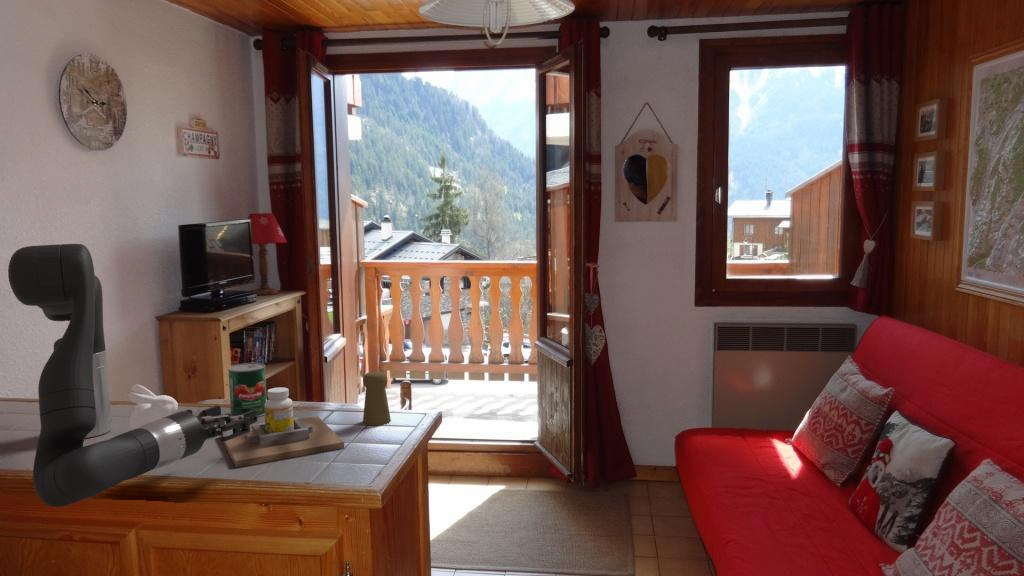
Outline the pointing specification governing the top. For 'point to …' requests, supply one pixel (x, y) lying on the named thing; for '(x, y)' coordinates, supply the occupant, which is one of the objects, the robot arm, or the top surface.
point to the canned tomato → (247, 388)
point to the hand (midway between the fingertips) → (237, 413)
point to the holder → (282, 442)
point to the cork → (375, 399)
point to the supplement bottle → (278, 411)
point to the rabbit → (149, 406)
